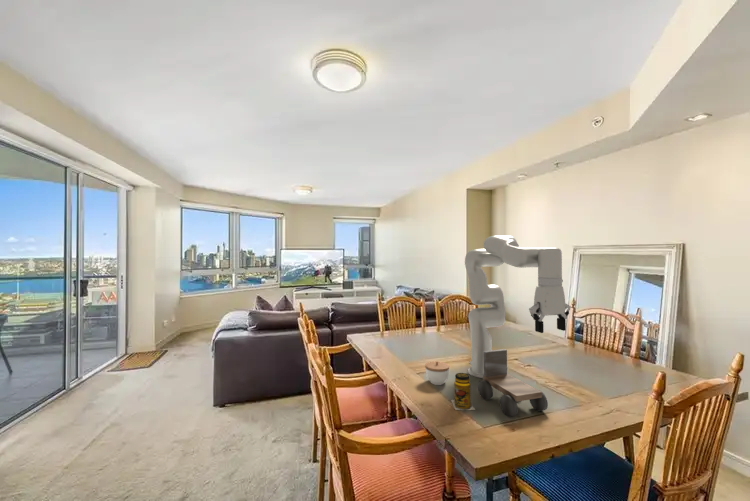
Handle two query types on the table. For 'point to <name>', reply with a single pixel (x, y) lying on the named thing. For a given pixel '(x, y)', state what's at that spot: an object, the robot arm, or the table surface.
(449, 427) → the table surface
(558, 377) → the table surface
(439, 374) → the lidded jar
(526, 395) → the trolley
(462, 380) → the condiment
